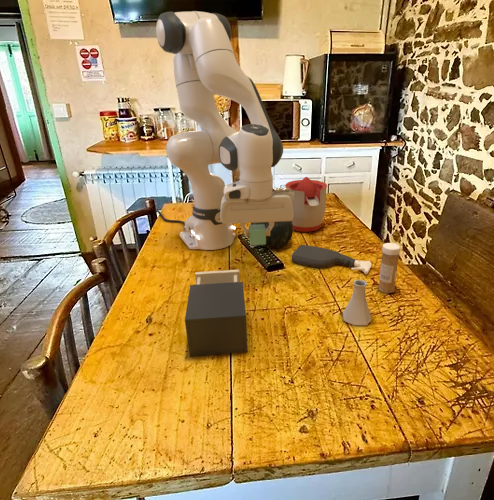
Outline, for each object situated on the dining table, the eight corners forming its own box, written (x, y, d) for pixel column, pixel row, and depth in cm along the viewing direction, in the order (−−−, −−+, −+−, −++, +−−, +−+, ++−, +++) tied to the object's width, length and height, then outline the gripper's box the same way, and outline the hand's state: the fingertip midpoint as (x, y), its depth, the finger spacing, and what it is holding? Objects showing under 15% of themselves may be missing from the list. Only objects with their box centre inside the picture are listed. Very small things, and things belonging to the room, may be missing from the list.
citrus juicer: (293, 238, 144) (293, 185, 136) (280, 222, 160) (280, 173, 151) (333, 234, 148) (336, 181, 139) (317, 218, 163) (319, 170, 155)
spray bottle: (301, 250, 134) (373, 264, 125) (288, 263, 125) (366, 279, 116) (301, 242, 133) (374, 256, 124) (289, 255, 124) (367, 270, 115)
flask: (369, 329, 94) (373, 292, 89) (339, 323, 96) (342, 287, 92) (373, 313, 100) (377, 278, 96) (345, 307, 102) (347, 273, 98)
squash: (246, 222, 145) (250, 200, 131) (285, 220, 148) (294, 199, 134) (250, 257, 139) (256, 238, 126) (291, 254, 142) (301, 236, 129)
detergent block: (249, 238, 114) (248, 224, 112) (264, 238, 115) (264, 224, 113) (250, 245, 110) (249, 230, 108) (265, 244, 111) (265, 230, 109)
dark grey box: (193, 318, 99) (190, 284, 95) (244, 314, 100) (242, 281, 96) (189, 356, 85) (184, 319, 81) (247, 352, 87) (245, 315, 83)
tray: (198, 289, 110) (196, 264, 106) (239, 287, 111) (238, 262, 108) (194, 327, 94) (191, 299, 90) (242, 324, 95) (241, 296, 91)
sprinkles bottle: (398, 290, 109) (404, 246, 104) (386, 295, 107) (392, 250, 102) (385, 283, 113) (390, 240, 107) (374, 288, 111) (379, 244, 105)
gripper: (292, 184, 110) (291, 230, 116) (218, 186, 108) (221, 233, 114) (296, 190, 104) (295, 238, 110) (218, 193, 102) (221, 242, 108)
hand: (257, 236), depth 112 cm, fingers closed on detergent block, 4 cm apart
